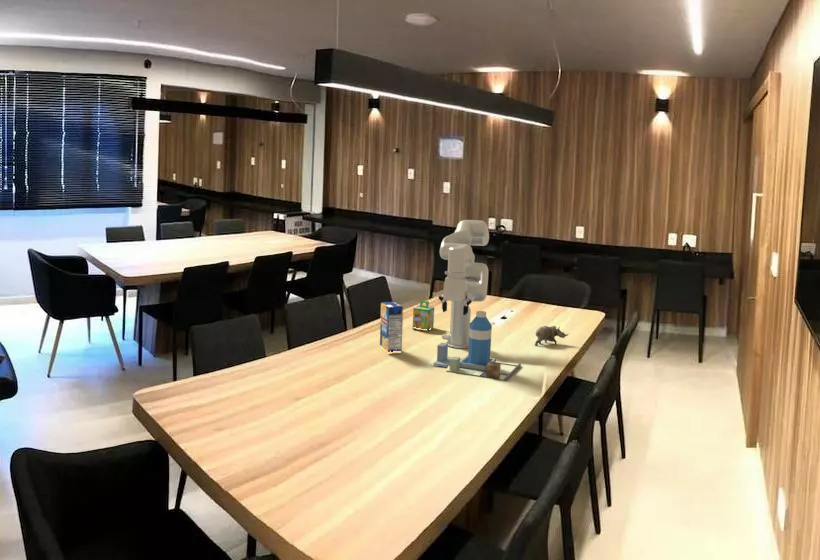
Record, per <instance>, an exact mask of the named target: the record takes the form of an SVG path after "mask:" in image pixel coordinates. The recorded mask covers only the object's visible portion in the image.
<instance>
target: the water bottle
mask: <svg viewBox="0 0 820 560" xmlns="http://www.w3.org/2000/svg"><path fill="white" fill-rule="evenodd" d="M475 314H476V316H475V317H474V318H473V319H472V320H471V321H470V327H469V348H468V354H467V355H468V361H467V363H470V364H477V365H483V366H486V365H487V364H488V362H490V358H491V351H492V350H491V346H492V328H493V325H492V323H491V322H490V321H489V319H488V317H487V311H484V310H477V311H476V313H475Z"/></svg>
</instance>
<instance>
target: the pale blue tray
mask: <svg viewBox="0 0 820 560" xmlns="http://www.w3.org/2000/svg"><path fill="white" fill-rule="evenodd" d="M448 348H449V346H448V344H447V342H446V343H444V342H441V343H439V344H438V345H437V349H436V351H437V353H436V361H434V362H433V364H432V365H433V366H435V365H437V367H441V366H442V368H448V367H450V359H451V358H452V357H453V356H448V354H449V353H448V351H449V350H448ZM463 358H464V359H463ZM463 358H461V357H460V367H464V368H470V369H477V370H484V371H487V365H486V366H483V365H477V364H470V363H468V354H467V355H466V356H465V357H463ZM490 362H496V358H491V357H490Z"/></svg>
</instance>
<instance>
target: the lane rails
mask: <svg viewBox="0 0 820 560" xmlns="http://www.w3.org/2000/svg"><path fill="white" fill-rule="evenodd" d="M464 358H465V357H463V358H462V359H464ZM500 363H501V365H505V366H512V367H514V368H513V369H512V370H511V371H510V373H502V372H500V376H499V378H493V377H486V376H487V371H484V370H477V369H470V368H464V367H460V368H461V369H468V370H475V371H476V372H481V374H479V375H478V374H473V375H472V374H465V373H459V372H453V371H449V370H446V371H445V372H447V373H452V374H458V375H464V376H470V377H471V376H473V377H479V378H484V379H491V380H497V381H498V380H499V381H504V382H507V381H508V380H510V378H511V377H512V376H514V374H515V373H516V372H517V371H518V370H519V369H520V368H521V367H522V363H518V364H510V363H503V362H500Z"/></svg>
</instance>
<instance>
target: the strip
mask: <svg viewBox="0 0 820 560" xmlns="http://www.w3.org/2000/svg"><path fill="white" fill-rule="evenodd" d="M451 357H452V358H451V359H450V366H449V370H448V371H453V372H459V373H465V374H472V375H475V373H476V372H477V371H476V370H469V369H463V368H460V358H461V357H459V356H451Z"/></svg>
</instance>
